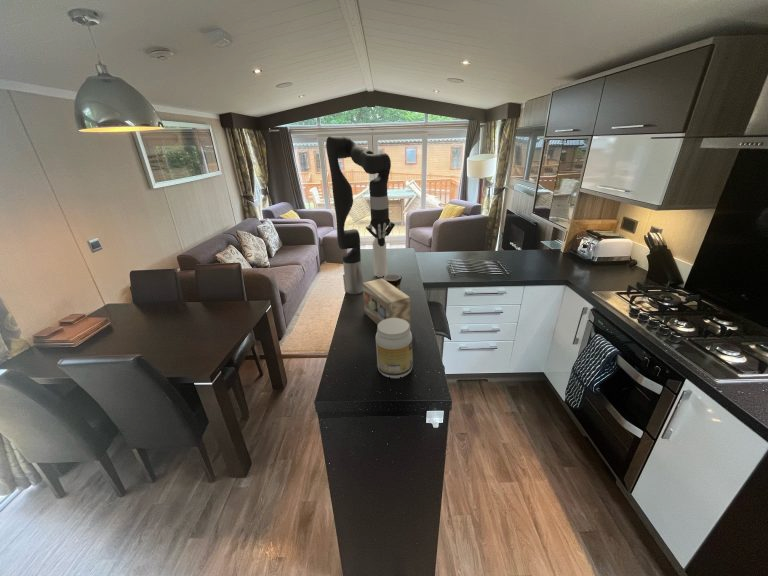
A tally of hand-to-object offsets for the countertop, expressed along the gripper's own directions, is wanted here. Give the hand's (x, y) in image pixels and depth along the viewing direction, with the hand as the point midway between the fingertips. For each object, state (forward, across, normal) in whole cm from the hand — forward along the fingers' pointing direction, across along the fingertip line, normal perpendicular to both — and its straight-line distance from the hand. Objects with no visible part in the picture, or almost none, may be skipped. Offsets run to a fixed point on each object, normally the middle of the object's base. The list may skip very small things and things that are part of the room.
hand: (381, 245), depth 136 cm
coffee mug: (+32, -9, -8) cm, 34 cm away
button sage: (+22, +11, +15) cm, 29 cm away
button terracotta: (+23, +10, +7) cm, 26 cm away
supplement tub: (+25, +14, +46) cm, 55 cm away
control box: (+29, +5, +15) cm, 33 cm away
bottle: (+36, -12, -37) cm, 53 cm away
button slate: (+21, +9, +22) cm, 32 cm away
